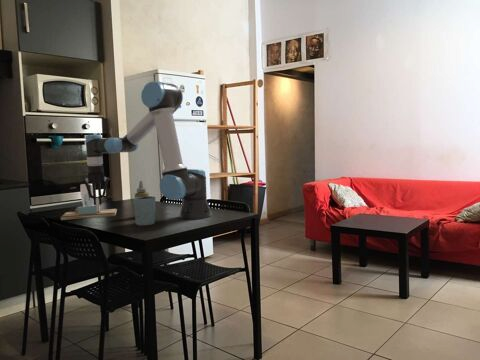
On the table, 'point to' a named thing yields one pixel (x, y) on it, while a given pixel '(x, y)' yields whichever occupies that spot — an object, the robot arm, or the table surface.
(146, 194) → the squeeze bottle
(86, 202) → the beer glass
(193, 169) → the robot arm
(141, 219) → the drinking glass
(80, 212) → the block
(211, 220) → the table surface
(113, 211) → the board
